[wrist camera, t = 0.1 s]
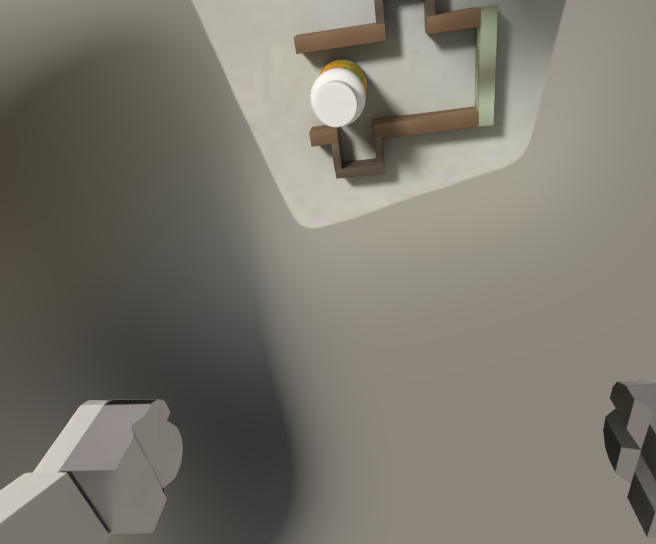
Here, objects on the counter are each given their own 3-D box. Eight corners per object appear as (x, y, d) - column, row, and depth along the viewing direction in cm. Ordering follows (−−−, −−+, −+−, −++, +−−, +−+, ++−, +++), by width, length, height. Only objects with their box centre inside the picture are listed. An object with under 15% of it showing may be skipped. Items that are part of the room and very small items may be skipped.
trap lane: (290, -10, 47) (286, -9, 45) (493, -45, 44) (499, -46, 42) (319, 173, 56) (317, 180, 54) (487, 154, 54) (492, 161, 51)
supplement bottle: (373, 65, 50) (372, 82, 41) (359, 116, 53) (356, 141, 44) (323, 52, 49) (312, 66, 41) (313, 104, 52) (301, 127, 44)
